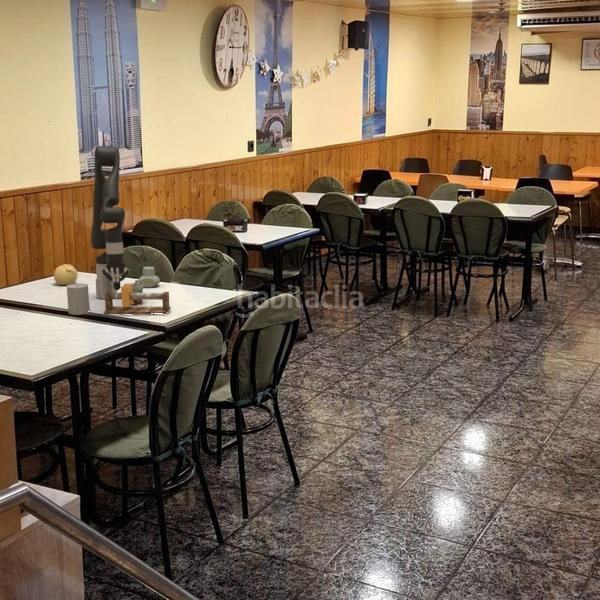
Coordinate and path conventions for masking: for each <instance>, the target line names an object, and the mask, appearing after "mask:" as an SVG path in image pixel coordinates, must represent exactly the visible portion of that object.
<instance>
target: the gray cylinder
mask: <svg viewBox="0 0 600 600" xmlns="http://www.w3.org/2000/svg"><path fill="white" fill-rule="evenodd" d="M65 286H66V297H67V311H68V313H67V314H69V315H73V316H74V315H75V316H79V315H85V314H84V313H87V312H88V311H90V312H91V310H90V296H89V295H90V294H89V284H88V283H74V284H71V285H65ZM87 314H88V313H87Z"/></svg>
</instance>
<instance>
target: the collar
mask: <svg viewBox="0 0 600 600" xmlns="http://www.w3.org/2000/svg"><path fill="white" fill-rule="evenodd" d="M120 291H121V292H120V293H121V295H122V299H121V304H122V305H121V306H122V307H129V306H130V305H131V304H132V303H133V300H131V299H130V296H129V293H133V292H132V283H124V284H123V285H122V286H121V288H120Z"/></svg>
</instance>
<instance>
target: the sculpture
mask: <svg viewBox="0 0 600 600" xmlns="http://www.w3.org/2000/svg"><path fill="white" fill-rule="evenodd" d="M53 280H54V282H55V283H56V284H57V285H60V286H67V285H71V284H76V282H77V280H78V270H77V269H76V268H75V267H74V265H72V264H69V263H68V264H67V263H63V264H62V265H59V266H57V267H55V269H54V272H53Z"/></svg>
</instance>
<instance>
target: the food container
mask: <svg viewBox="0 0 600 600" xmlns="http://www.w3.org/2000/svg"><path fill="white" fill-rule="evenodd" d="M138 280H139V279H138ZM138 280H137V279H135V281H134V283H132V292H133V293H144V291H143V290H144V288H145V287H144V284H143V282H142V281H138ZM141 303H142V304H143V300H133V303H132V304H131V305H135V306H138V305H137V304H140V305H142V304H141Z"/></svg>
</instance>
